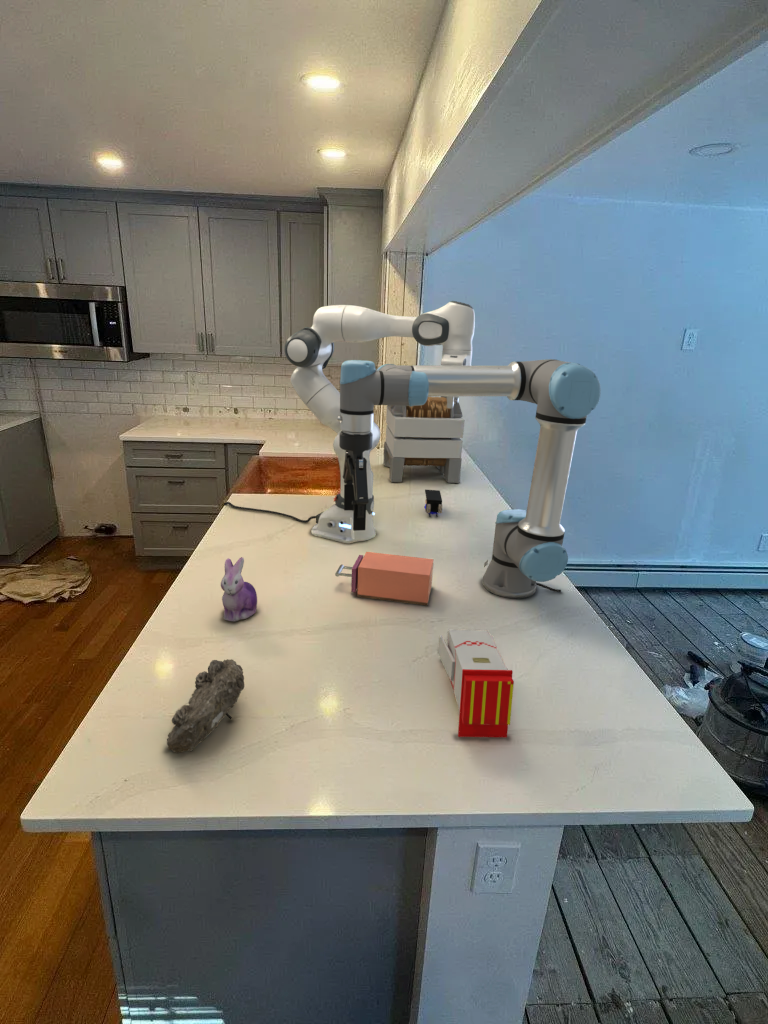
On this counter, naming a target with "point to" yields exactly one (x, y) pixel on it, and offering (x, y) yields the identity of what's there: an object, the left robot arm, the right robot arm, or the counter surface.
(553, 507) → the right robot arm
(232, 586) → the figurine
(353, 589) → the drawer
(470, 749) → the counter surface
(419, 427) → the transformer
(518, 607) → the counter surface
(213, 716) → the fossil
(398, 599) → the cabinet
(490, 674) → the toy
